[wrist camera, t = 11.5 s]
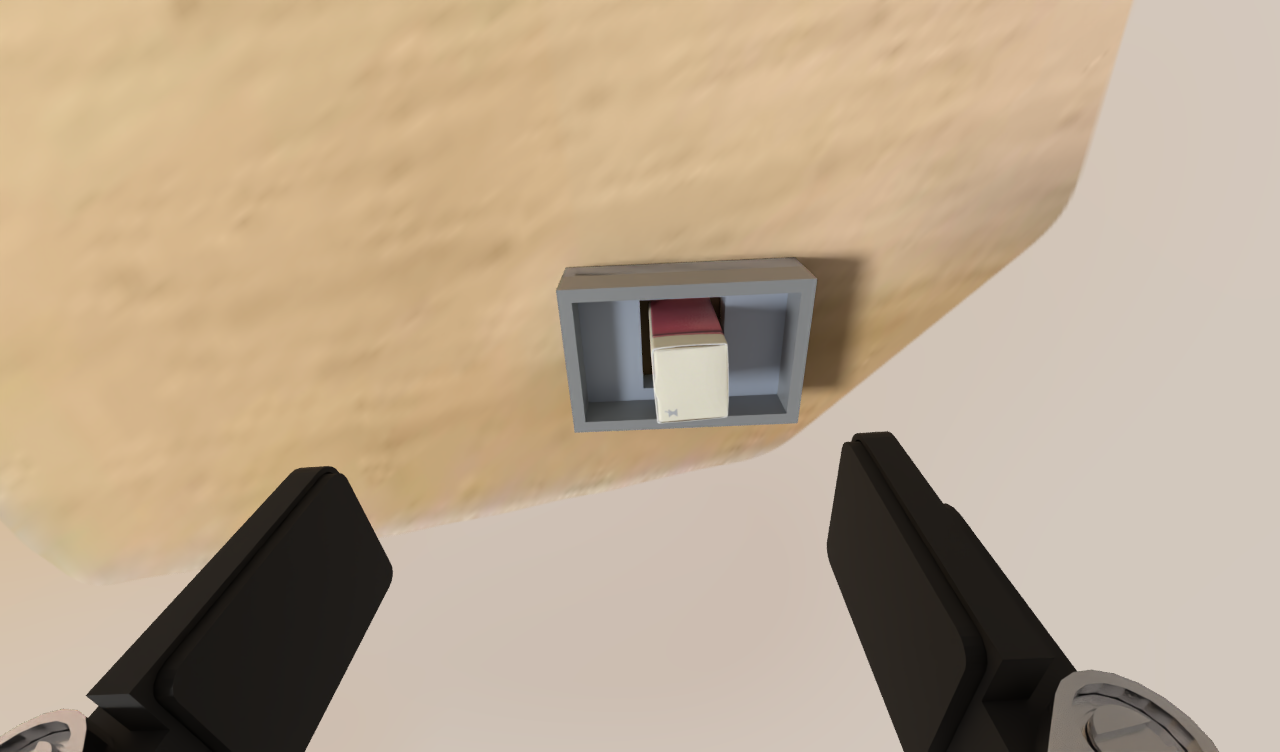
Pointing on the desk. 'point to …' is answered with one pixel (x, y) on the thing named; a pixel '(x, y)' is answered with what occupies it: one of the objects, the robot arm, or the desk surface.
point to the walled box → (749, 317)
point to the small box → (688, 360)
